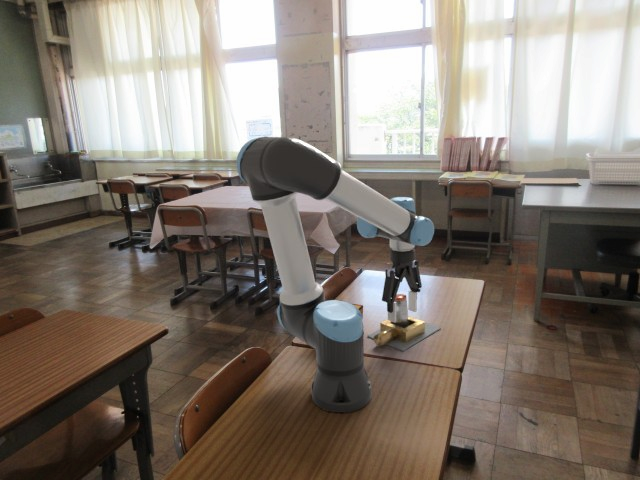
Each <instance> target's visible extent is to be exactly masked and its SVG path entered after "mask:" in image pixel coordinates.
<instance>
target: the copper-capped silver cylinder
mask: <svg viewBox="0 0 640 480" xmlns="http://www.w3.org/2000/svg"><path fill="white" fill-rule="evenodd" d="M394 302H396V322H395V323H394V324H395V325H397V326H400V327H402V328H406V327H408V326H409V318H408V316H409V310H408V299H407V295H406V294H402V293H397V295H396V298H395V301H394Z"/></svg>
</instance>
